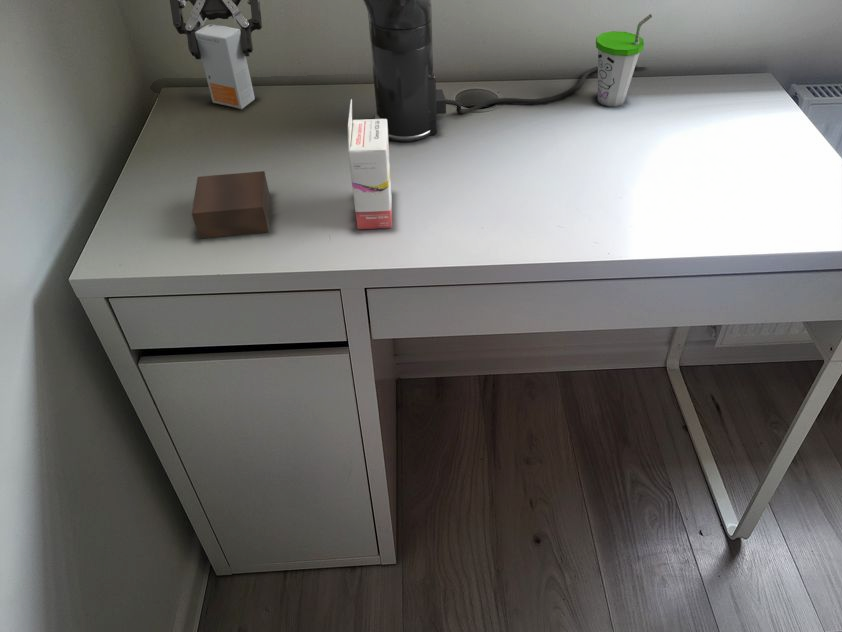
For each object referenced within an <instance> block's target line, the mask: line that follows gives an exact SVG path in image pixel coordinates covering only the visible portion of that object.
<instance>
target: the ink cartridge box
mask: <svg viewBox="0 0 842 632" xmlns="http://www.w3.org/2000/svg"><path fill="white" fill-rule="evenodd" d="M349 101H350V102H349V110H348V119H347V156H348V162H349V169H350V171H349V172H350V178H351V186H352V187H351V188H352V194H353V195H352V196H353V205H354V211H355V219H356V220H355V221H356V229H357V230H367V229H368V230H369V229H372V230H373V229H392V227H393V224H392V219H393V218H392V216H393V215H392V211H393V210H392V204H393V203H392V198H393V197H392V195H393V194H392V186H391V185H392V184H391V168H390V167H391V166H390V164H391V163H390V146H389V145H390V144H389V139H388V124H387V119H375V118H372V119H371V118H369V119H368V118H367V119H353V99H352V98H351V99H350V100H349Z"/></svg>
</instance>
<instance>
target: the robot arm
mask: <svg viewBox="0 0 842 632" xmlns="http://www.w3.org/2000/svg"><path fill="white" fill-rule="evenodd" d="M245 1H246V3H247V4H248V5H250V14H251V17H250V18H249V19H247V18H246V17H245V16H244V15H243V14H242V12H241V10H240V9H239V8H238V7H239V5H240V3H241V2H242V0H169V6H170V13H171V18H172V25H173V26H174V28H175V30H176V32H177V33H178V34H179V35H186V39H187V46H188V47H187V48H188V51H189V52H190V54H191V56H192V57H194V58H195V60H202V59H201V55H200V51H199V47H198V43H197V39H196V35H195V32H196V31H198V30H200V29H201V28H203V27H204V25H205V23H206V22H207V20H208V21H213V20H217V19H222V20H229V18H231V19H232V20H233V21H234V22H235V23H236V25H238V27H239V29H240V31H241V39H242V48H243V53H244V55H245V57H246V58H247V57H250V54H251V53H253V51H254V47H253V46H254V45H253V40H252V33H253V31H256V30H257V31H260V30H261V29H262V28H263V22H262V12H261V11H262V10H261V0H245ZM187 2H189V3H191V5H192V6H193V7H192V9H191V10H190V14H189V18H188V20H187V22H185V21H184V15H183V9H185V7H186V4H187ZM362 2H363V3H364V6H365V7H366V10H367V17H368V18H367V19H368V30H369V40H370V52H371V64H372V77H373V87H374V88H373V89H374V99H375V108H376V109H375V112H374V119H387V124H388V140H392V141H398V142H414V141H418V140H422V139H426V138H427V137H429V136H432V135H437V134H438V117H437V115H443V114H444V115H445V114H447V105H450V106H454V107H456V112H457V114H461V115H464V114H468V113H471V112H474V111H476V110H480V109H483V108H485V107H489V106H491V105H496V104H497V105H498V104H505V103H506V104H527V105H533V104H534V105H536V104H545V103H549V102H554V101H557V100H560V99H563V98H564V97H567V96H568V95H571V94H572V93H574V92H576V91H577V90H579V89H580V88H581V87H582V86H583V85H584V82H585V80H586V79H587V77H588V76H589V75H591V74H593V73H596V72H598V67H597V66H595V67H592V68H590V69H588V70H586V71H585V72H584V73H583V74H582V75H581V77H580V79H579V81H578V82H577V84H575V85H573V86H572V87H571V88H569V89H567V90H564V91H563V92H561V93H559V94H555V95H552V96H547V97H541V98H519V97H500V98H493V99H489V100H486V101H483V102H480V103H479V104H476V105H474V106H472V107H470V108H465V109H463V108H462V104H461V103H460V102H459V100H458V101H457V100H454V99H448V98H446V97H445V94H444V90H443V89H442V88H441V89H440V88H439V89H437V80H436V79H437V77H436V74H435V70H434V52H433V51H434V49H433V48H434V47H433V46H434V45H433V44H434V43H433V12H432V11H433V9H432V7H433V5H432V0H363V1H362ZM639 69H640V68H639V67H638V65H637V64H636V66H635V69H634V71H636V70H637V71H638V70H639Z"/></svg>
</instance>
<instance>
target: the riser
mask: <svg viewBox="0 0 842 632" xmlns="http://www.w3.org/2000/svg"><path fill="white" fill-rule="evenodd" d="M270 198H271V194H270V190H269V186H268V181H267V175H266V171H264V170H261V171H260V170H259V171H250V172H237V173H236V172H235V173H226V174H225V173H224V174H214V175H212V174H211V175H202V176H197V178H196V185H195V189H194V196H193V201H192V208H191V217H192V221H193V222H194V225H195V226H194V227H195V230H196V232H197V236H198V238H199V239H210V238H211V239H212V238H220V237H233V236H243V235H252V234H253V235H254V234H263V233H269V232H270V231H269V230H270V205H271V204H270V203H271V199H270Z"/></svg>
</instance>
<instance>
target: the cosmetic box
mask: <svg viewBox="0 0 842 632" xmlns="http://www.w3.org/2000/svg"><path fill="white" fill-rule="evenodd" d="M240 29H241V28H236V27H230V26H227V25H218V24H214V23H209V24H207V25H205V26H202V27H201V28H200V30H198V31H196V32H195V35H196V39H197V43H198V47H199V51H200V55H201V59H200V60H201V62H202V67H203V71H204V75H205V78H206V82H207V86H208V90H209V94H210V98H211V101H212V103H213V104H218V105H222V106H226V107H231V108H234V109H239V110H243V109H245V107H247V106H248V105H249V104H251V103H252V102H253V101H255V99H256V98H255V92H254V87H253V83H252V78H251V74H250V70H249V65H248V61H247V56H246V57H245V55H244V53H243V48H242V39H241V31H240Z"/></svg>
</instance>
